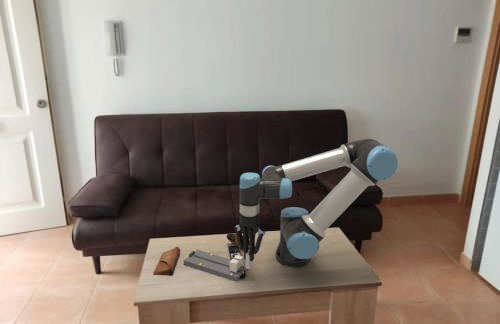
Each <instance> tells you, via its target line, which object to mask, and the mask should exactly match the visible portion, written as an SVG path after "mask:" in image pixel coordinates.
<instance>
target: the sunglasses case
mask: <svg viewBox="0 0 500 324" xmlns="http://www.w3.org/2000/svg"><path fill="white" fill-rule="evenodd" d="M180 254H181V249H180V247H179V246H175V247H174V248H171V249H170V250H167V251H164V252H162V253H161V256H160V258H159V260H158V263H157V265H156V267H155V269H154V270H153V273H152V276H171V277H172V276H173V275H174V271H175V269H176V264H177V262H178V260H179V257H180Z"/></svg>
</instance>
